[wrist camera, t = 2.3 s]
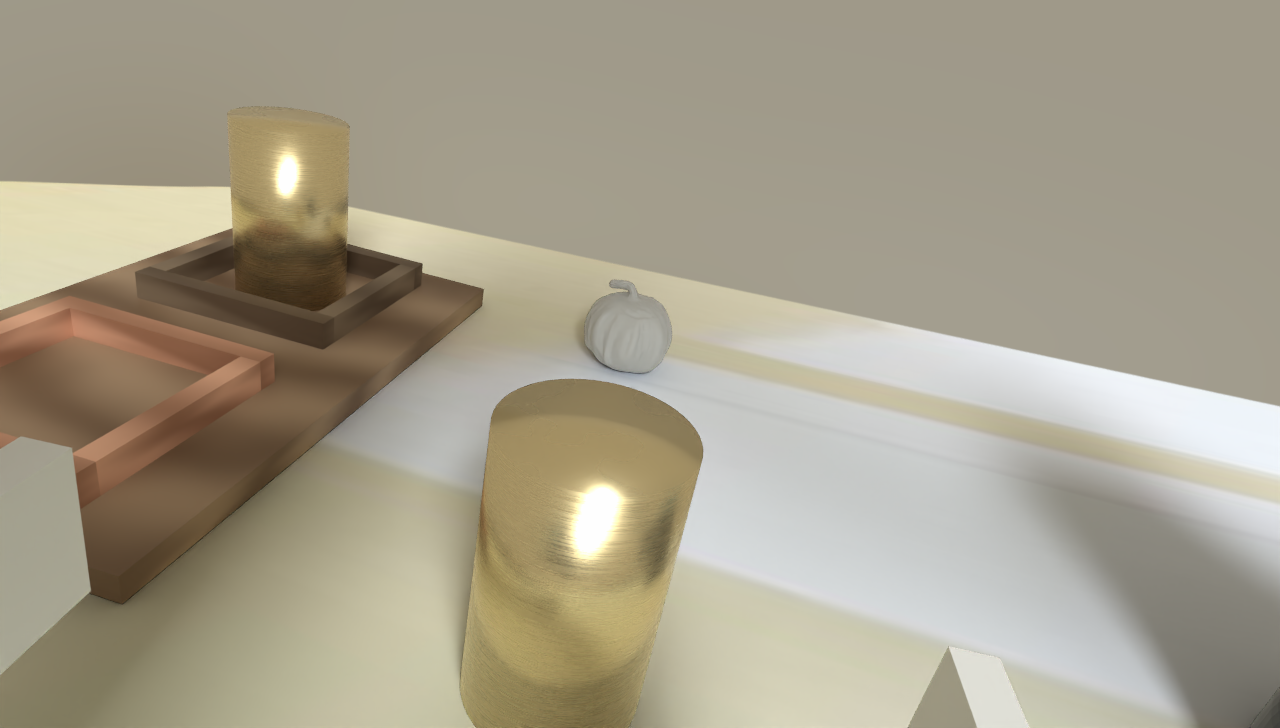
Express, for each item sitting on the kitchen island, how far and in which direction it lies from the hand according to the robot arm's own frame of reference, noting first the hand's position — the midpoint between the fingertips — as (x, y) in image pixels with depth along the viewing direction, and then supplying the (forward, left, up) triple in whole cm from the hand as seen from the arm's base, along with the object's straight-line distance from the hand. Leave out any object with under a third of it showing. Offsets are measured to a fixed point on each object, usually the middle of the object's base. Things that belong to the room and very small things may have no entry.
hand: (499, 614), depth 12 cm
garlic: (-15, -32, -13) cm, 37 cm away
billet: (+4, -38, -11) cm, 40 cm away
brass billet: (-5, -9, -13) cm, 16 cm away
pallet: (+8, -32, -13) cm, 35 cm away
